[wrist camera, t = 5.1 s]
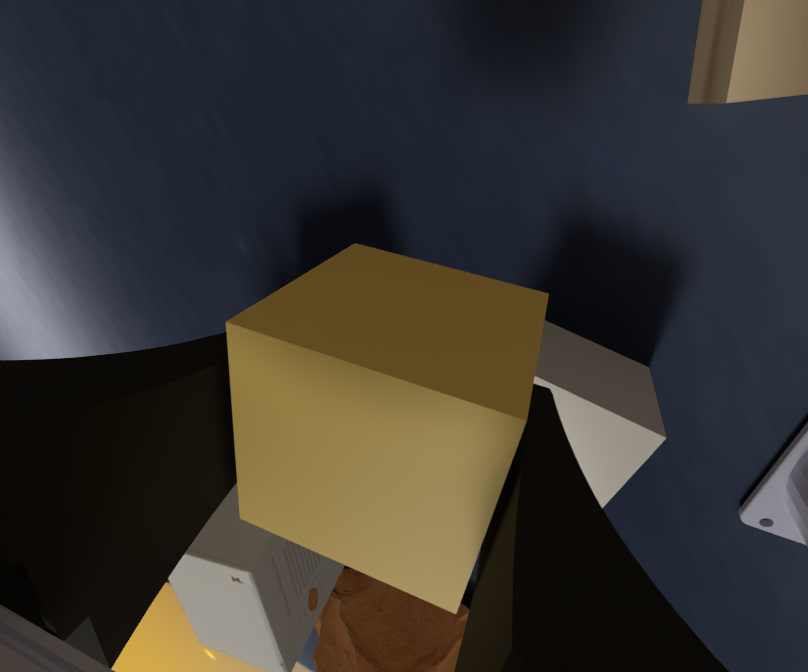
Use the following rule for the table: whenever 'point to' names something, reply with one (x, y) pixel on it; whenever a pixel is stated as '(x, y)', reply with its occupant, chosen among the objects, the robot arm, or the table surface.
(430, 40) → the table surface
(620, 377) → the grey cube
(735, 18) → the maple cube
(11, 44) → the table surface
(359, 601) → the stone
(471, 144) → the table surface
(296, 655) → the small box
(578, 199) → the table surface
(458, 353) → the mustard cube
